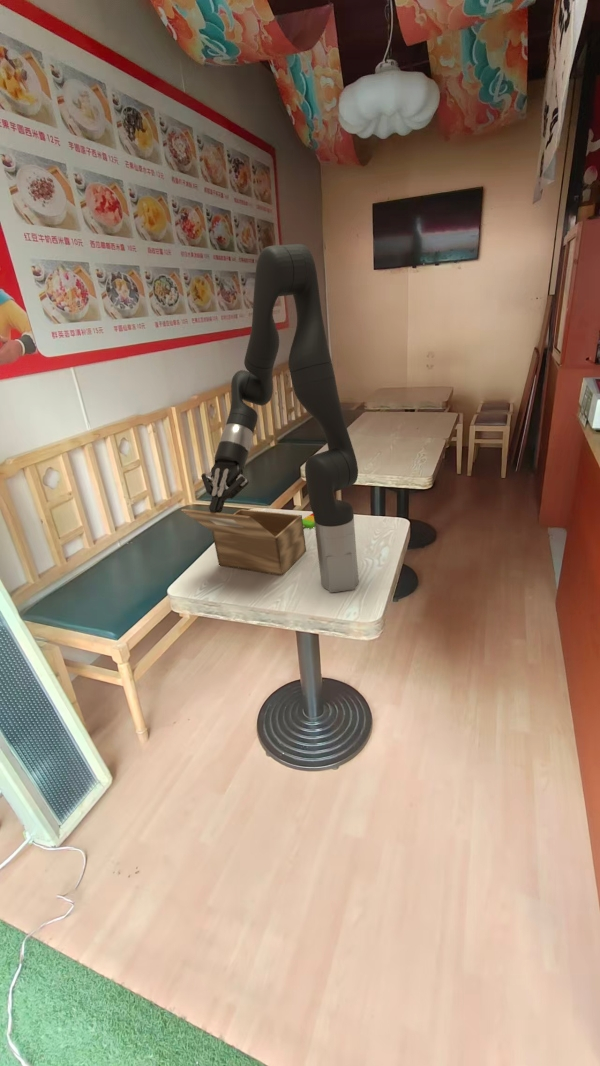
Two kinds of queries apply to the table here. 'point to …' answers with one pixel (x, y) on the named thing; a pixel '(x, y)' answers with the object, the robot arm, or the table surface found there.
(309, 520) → the popsicle
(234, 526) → the flap
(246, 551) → the brown wooden box
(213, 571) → the table surface
